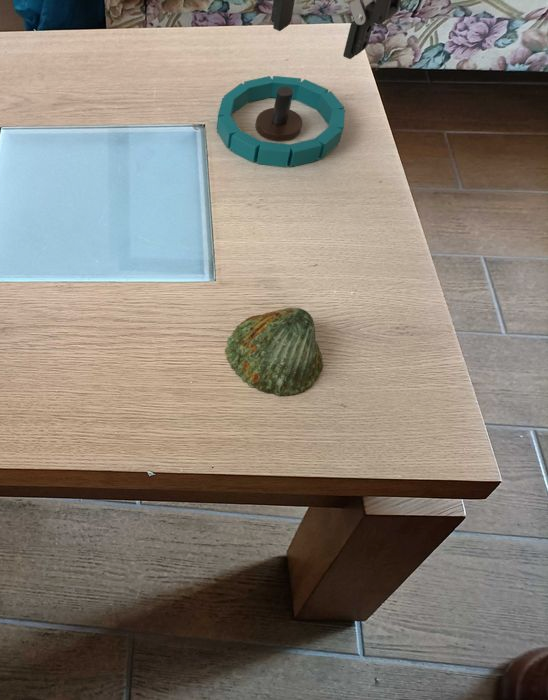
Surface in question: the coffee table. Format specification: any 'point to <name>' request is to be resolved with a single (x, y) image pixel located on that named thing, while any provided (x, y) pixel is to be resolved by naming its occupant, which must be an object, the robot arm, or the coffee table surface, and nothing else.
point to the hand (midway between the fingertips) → (315, 40)
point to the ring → (277, 151)
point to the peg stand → (279, 118)
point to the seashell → (276, 351)
